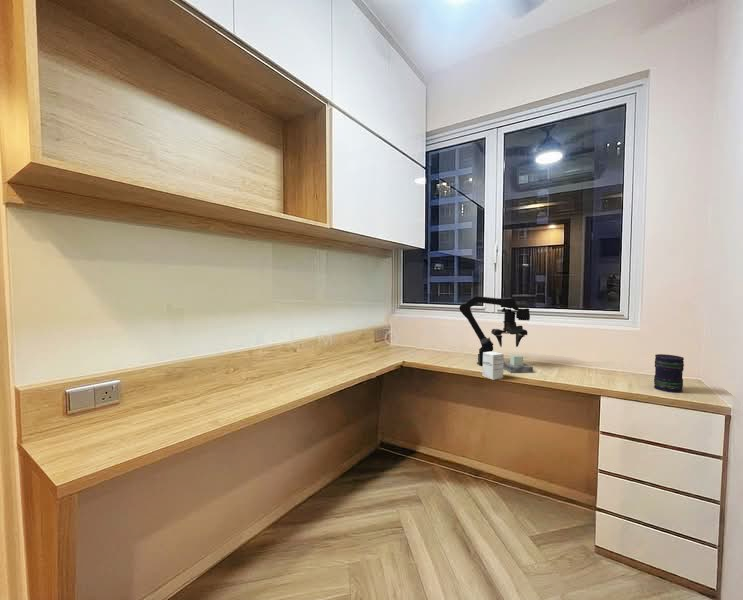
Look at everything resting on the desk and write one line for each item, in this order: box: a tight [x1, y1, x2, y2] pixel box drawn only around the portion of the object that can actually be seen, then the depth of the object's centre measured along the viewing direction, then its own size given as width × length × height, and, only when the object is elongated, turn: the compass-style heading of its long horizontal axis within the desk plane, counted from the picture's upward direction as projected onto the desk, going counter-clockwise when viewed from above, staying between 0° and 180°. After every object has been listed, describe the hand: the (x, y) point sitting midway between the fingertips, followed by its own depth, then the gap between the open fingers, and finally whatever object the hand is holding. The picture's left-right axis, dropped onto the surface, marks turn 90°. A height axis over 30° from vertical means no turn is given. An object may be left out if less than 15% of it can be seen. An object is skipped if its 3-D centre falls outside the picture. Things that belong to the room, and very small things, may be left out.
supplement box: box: [482, 350, 505, 381], centre depth 172 cm, size 7×7×13 cm
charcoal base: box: [503, 361, 534, 374], centre depth 187 cm, size 12×12×3 cm
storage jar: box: [653, 353, 685, 394], centre depth 152 cm, size 10×10×15 cm
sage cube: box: [509, 354, 524, 366], centre depth 186 cm, size 5×5×5 cm
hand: (508, 346), depth 194 cm, fingers open, 9 cm apart
